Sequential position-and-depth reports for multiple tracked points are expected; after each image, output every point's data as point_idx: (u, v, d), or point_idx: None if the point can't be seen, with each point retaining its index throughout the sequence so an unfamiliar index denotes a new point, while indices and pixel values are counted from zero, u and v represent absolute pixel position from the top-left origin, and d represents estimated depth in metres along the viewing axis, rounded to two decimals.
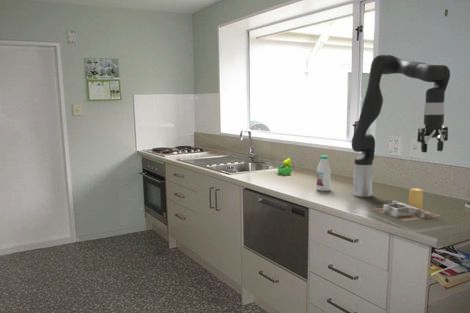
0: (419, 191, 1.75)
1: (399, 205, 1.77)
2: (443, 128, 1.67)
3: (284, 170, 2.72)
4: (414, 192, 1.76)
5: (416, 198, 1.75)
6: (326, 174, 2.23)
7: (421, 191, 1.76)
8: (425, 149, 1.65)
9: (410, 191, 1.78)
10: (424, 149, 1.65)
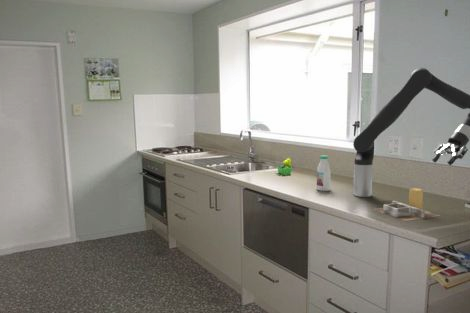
0: (419, 191, 1.75)
1: (399, 205, 1.77)
2: None
3: (284, 170, 2.72)
4: (414, 192, 1.76)
5: (416, 198, 1.75)
6: (326, 174, 2.23)
7: (421, 191, 1.76)
8: None
9: (410, 191, 1.78)
10: None
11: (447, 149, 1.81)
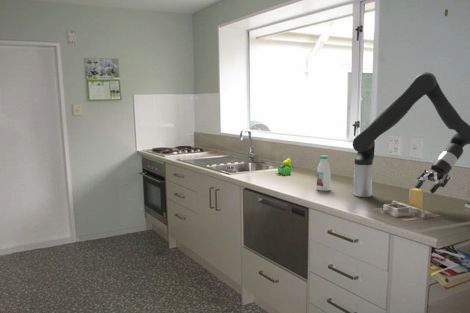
0: (419, 191, 1.75)
1: (399, 205, 1.77)
2: None
3: (284, 170, 2.72)
4: (414, 192, 1.76)
5: (416, 198, 1.75)
6: (326, 174, 2.23)
7: (421, 191, 1.76)
8: None
9: (410, 191, 1.78)
10: None
11: (430, 176, 1.80)
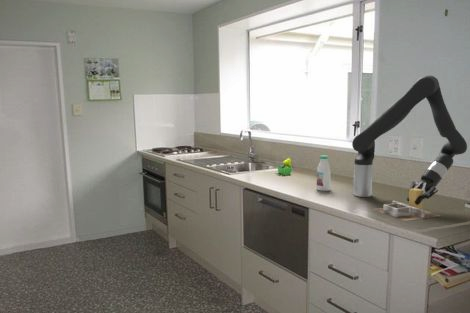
0: (419, 191, 1.75)
1: (399, 205, 1.77)
2: None
3: (284, 170, 2.72)
4: (414, 192, 1.76)
5: (416, 198, 1.75)
6: (326, 174, 2.23)
7: (421, 191, 1.76)
8: None
9: (410, 191, 1.78)
10: None
11: (421, 187, 1.78)
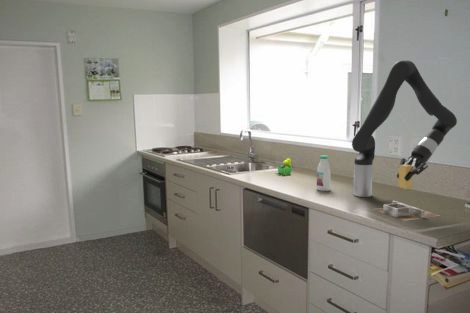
0: (409, 167, 1.72)
1: (399, 205, 1.77)
2: None
3: (284, 170, 2.72)
4: (404, 168, 1.72)
5: (406, 174, 1.72)
6: (326, 174, 2.23)
7: (411, 167, 1.72)
8: None
9: (400, 167, 1.74)
10: None
11: (411, 163, 1.75)
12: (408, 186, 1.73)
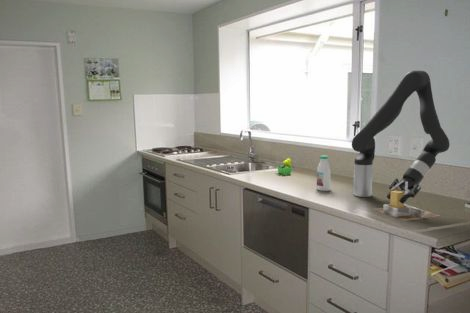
0: (400, 193, 1.72)
1: None
2: None
3: (284, 170, 2.72)
4: (395, 194, 1.72)
5: (397, 201, 1.72)
6: (326, 174, 2.23)
7: (402, 193, 1.72)
8: None
9: (391, 193, 1.75)
10: None
11: (401, 186, 1.75)
12: None
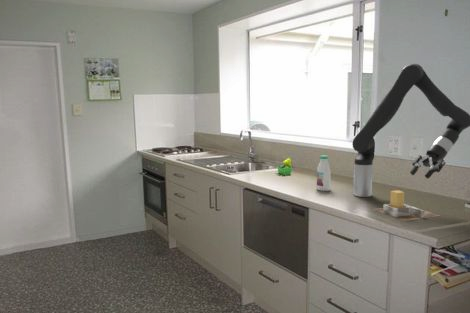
0: (400, 193, 1.72)
1: None
2: None
3: (284, 170, 2.72)
4: (395, 194, 1.72)
5: (397, 201, 1.72)
6: (326, 174, 2.23)
7: (402, 193, 1.72)
8: None
9: (391, 193, 1.75)
10: None
11: (425, 162, 1.78)
12: None
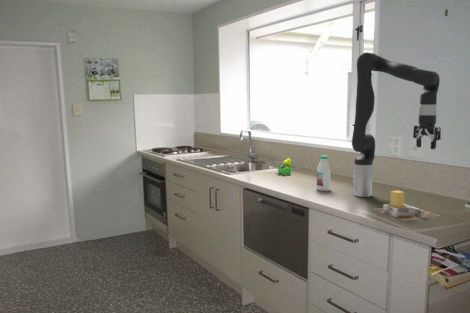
0: (400, 193, 1.72)
1: None
2: None
3: (284, 170, 2.72)
4: (395, 194, 1.72)
5: (397, 201, 1.72)
6: (326, 174, 2.23)
7: (402, 193, 1.72)
8: None
9: (391, 193, 1.75)
10: None
11: (423, 133, 1.87)
12: None
